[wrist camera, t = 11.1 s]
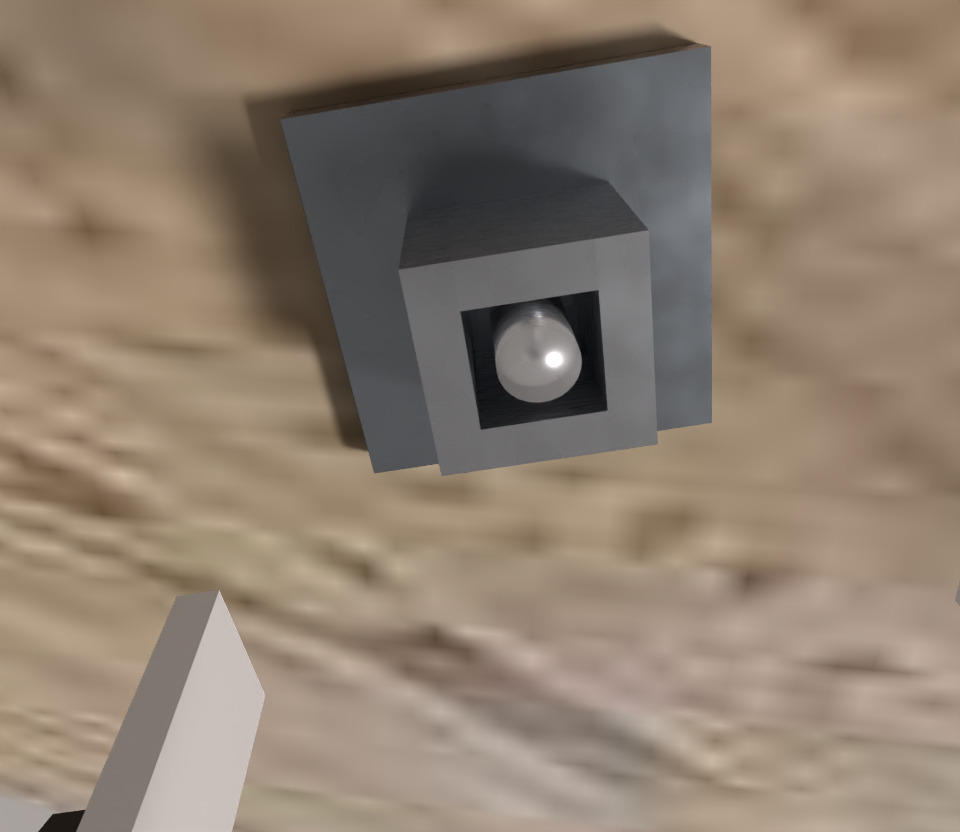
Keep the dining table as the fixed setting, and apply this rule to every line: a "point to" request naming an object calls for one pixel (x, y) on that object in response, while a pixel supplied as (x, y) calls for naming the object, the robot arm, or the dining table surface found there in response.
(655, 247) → the shaft stand
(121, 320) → the dining table surface
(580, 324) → the grey square sleeve
